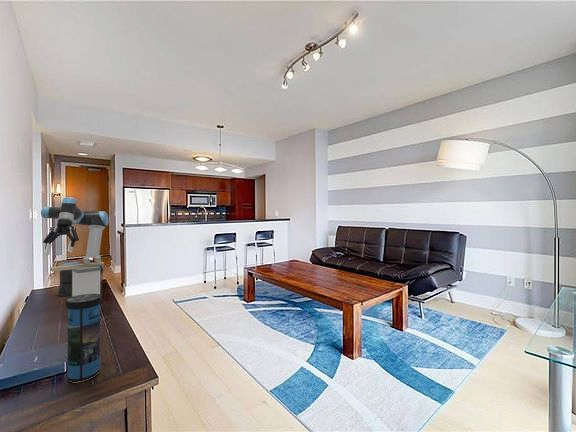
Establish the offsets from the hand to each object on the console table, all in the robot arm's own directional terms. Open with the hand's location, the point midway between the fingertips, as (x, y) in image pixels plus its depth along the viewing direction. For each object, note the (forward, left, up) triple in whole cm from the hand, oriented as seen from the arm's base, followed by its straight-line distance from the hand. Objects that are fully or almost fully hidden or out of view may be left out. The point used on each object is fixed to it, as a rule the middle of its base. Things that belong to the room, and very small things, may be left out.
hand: (58, 253), depth 173 cm
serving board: (+9, +8, -9) cm, 15 cm away
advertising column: (+89, -7, -37) cm, 96 cm away
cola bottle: (-18, +24, -37) cm, 48 cm away
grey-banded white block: (+9, +12, -37) cm, 40 cm away
